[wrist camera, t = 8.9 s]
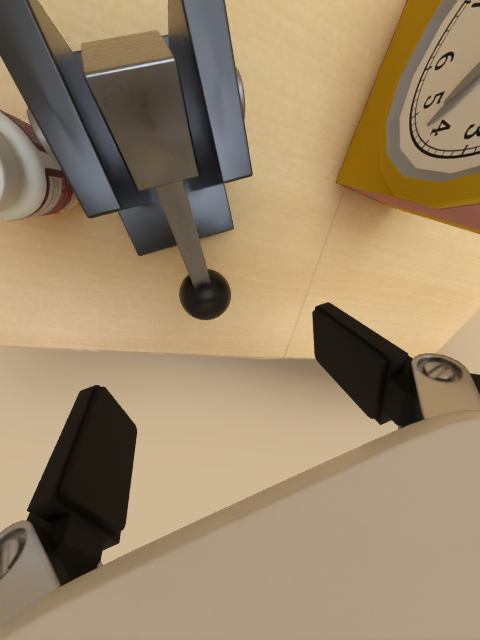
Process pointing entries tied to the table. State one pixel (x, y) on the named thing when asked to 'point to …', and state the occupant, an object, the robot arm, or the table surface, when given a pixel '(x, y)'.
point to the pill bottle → (29, 175)
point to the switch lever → (155, 145)
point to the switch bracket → (94, 137)
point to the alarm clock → (424, 118)
